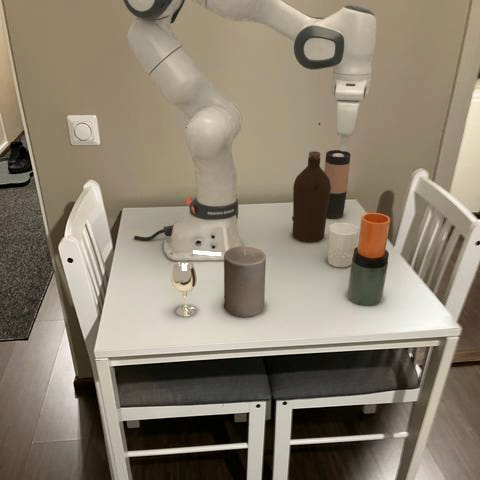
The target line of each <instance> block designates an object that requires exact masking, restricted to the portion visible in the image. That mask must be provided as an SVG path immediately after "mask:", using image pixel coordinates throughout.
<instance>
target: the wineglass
mask: <svg viewBox="0 0 480 480" xmlns="http://www.w3.org/2000/svg"><path fill="white" fill-rule="evenodd" d="M170 280H171V285H172V287H173V288H174V289H175V291H177V292H180V293H182V297H183V302H184V303H183V304H184V305H182V306H179V307H177V308H176V311H175V312H176V314H177V315H179V316H181V317H190V316H192V315H194V314H195V313H196V308H195V307H193V306H191V305H188V304H187V298H188V293H189V292H191V291H193V290H194V289H195V287H196V286H197V281H198V278H197V271H196V268H195V266H194V263H193V262H191V261H176V262H175V263H173V265H172V269H171V276H170Z"/></svg>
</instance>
